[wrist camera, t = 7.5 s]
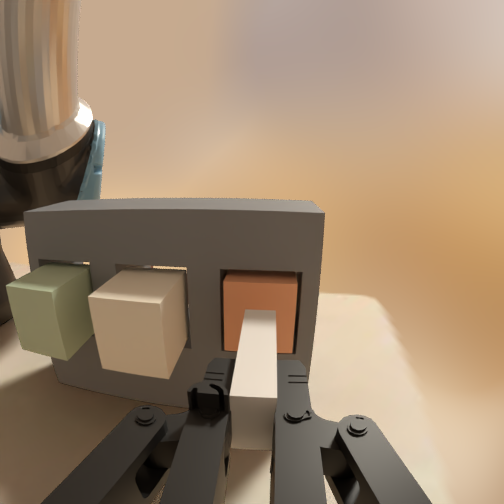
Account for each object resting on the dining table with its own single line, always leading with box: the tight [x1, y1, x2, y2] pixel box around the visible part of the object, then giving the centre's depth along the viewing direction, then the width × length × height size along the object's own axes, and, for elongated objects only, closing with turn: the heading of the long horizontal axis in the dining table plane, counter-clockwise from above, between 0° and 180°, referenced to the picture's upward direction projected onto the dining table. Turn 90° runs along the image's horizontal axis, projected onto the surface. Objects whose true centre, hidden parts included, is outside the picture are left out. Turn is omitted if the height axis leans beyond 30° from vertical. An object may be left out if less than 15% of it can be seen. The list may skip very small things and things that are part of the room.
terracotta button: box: [223, 269, 298, 353], centre depth 20 cm, size 4×5×4 cm
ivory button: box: [88, 267, 190, 379], centre depth 18 cm, size 4×5×4 cm
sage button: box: [6, 262, 94, 361], centre depth 18 cm, size 4×5×4 cm
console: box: [23, 198, 325, 408], centre depth 22 cm, size 20×6×14 cm, turn 86°
